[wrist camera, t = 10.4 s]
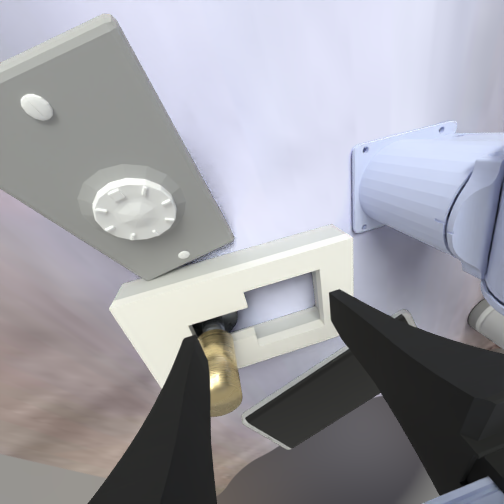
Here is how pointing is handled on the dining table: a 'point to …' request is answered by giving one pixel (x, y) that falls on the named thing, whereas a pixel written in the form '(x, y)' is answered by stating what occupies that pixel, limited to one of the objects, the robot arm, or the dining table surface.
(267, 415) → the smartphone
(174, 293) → the keyhole board
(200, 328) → the peg
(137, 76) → the light switch
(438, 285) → the dining table surface
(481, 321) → the travel mug
